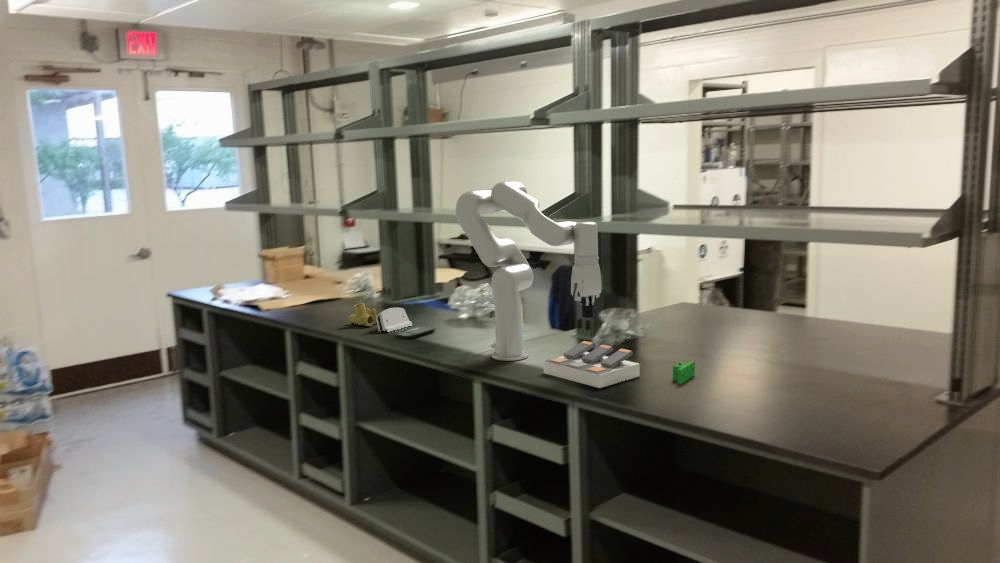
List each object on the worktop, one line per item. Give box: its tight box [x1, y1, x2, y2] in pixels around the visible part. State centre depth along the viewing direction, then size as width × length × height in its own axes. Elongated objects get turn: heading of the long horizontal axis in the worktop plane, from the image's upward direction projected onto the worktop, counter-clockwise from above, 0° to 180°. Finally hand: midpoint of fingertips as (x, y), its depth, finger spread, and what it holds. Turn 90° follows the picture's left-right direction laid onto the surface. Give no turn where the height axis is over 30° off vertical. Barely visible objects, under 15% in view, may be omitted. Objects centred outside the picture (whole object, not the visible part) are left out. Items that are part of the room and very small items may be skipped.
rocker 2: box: [581, 344, 614, 364], centre depth 239 cm, size 4×10×1 cm, turn 130°
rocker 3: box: [600, 348, 634, 368], centre depth 233 cm, size 4×10×1 cm, turn 130°
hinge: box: [376, 306, 413, 333], centre depth 317 cm, size 17×5×10 cm, turn 148°
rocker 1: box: [562, 340, 595, 359], centre depth 245 cm, size 4×10×1 cm, turn 130°
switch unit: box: [543, 351, 641, 389], centre depth 238 cm, size 24×18×5 cm
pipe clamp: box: [672, 361, 696, 385], centre depth 230 cm, size 11×4×5 cm, turn 145°
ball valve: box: [348, 302, 378, 327], centre depth 328 cm, size 13×10×10 cm
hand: (587, 317), depth 246 cm, fingers closed
